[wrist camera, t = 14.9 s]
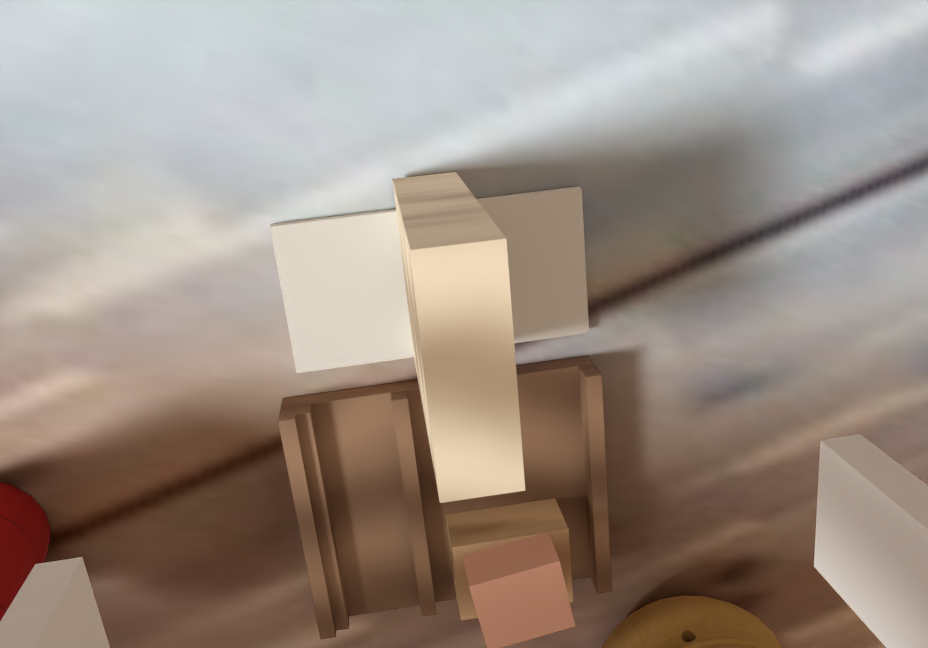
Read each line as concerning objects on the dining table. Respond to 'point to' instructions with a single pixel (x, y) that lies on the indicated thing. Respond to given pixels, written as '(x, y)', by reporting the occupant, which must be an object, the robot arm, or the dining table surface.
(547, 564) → the offcut terracotta
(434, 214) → the birch block
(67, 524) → the dining table surface
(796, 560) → the dining table surface
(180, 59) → the dining table surface
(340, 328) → the white mat
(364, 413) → the rack
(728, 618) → the pot
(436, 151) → the dining table surface
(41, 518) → the plastic cup
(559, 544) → the offcut oak
